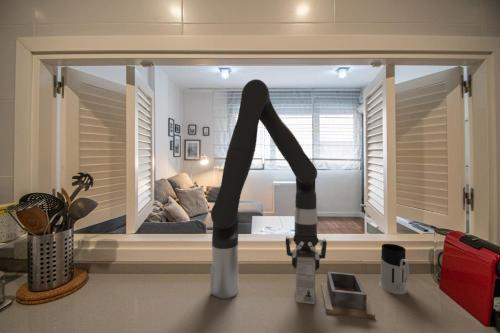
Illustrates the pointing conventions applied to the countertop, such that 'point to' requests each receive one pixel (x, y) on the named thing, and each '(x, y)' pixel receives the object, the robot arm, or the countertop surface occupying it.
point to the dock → (345, 295)
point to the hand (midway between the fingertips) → (305, 268)
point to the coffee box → (305, 277)
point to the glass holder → (393, 269)
